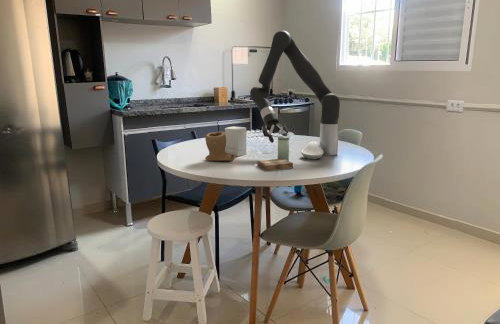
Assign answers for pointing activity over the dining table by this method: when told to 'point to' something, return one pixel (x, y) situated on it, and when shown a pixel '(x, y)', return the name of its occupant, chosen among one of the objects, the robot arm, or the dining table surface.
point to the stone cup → (217, 147)
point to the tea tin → (283, 147)
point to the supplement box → (235, 140)
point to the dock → (275, 164)
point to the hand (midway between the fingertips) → (279, 141)
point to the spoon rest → (312, 151)
